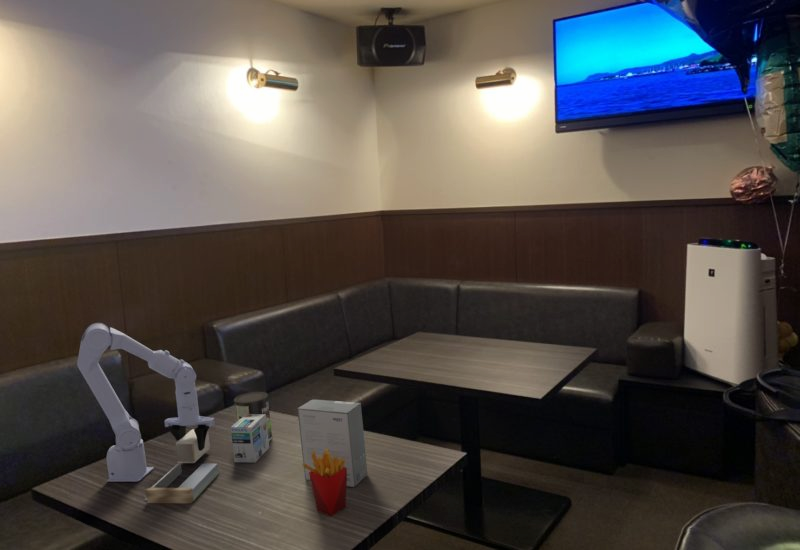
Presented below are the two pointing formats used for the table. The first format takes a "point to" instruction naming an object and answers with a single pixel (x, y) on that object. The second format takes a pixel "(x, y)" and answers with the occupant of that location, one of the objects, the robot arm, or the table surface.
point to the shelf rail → (169, 495)
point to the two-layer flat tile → (201, 478)
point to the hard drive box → (334, 435)
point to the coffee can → (253, 406)
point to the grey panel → (168, 478)
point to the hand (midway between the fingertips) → (192, 449)
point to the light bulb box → (250, 438)
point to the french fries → (328, 483)
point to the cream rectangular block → (190, 448)
